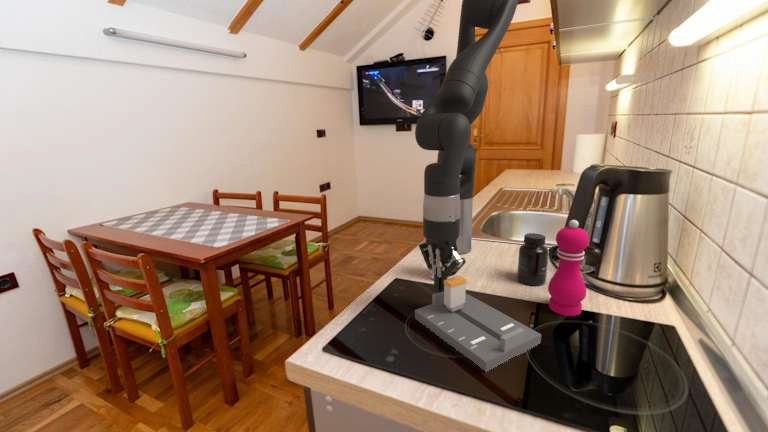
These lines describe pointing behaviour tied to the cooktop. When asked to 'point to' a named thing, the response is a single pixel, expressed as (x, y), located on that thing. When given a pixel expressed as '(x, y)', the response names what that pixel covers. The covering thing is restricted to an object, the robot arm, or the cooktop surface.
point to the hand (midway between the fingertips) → (440, 290)
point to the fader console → (478, 331)
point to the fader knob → (454, 292)
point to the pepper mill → (569, 271)
